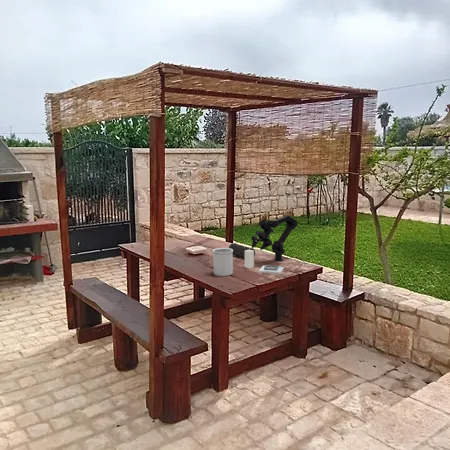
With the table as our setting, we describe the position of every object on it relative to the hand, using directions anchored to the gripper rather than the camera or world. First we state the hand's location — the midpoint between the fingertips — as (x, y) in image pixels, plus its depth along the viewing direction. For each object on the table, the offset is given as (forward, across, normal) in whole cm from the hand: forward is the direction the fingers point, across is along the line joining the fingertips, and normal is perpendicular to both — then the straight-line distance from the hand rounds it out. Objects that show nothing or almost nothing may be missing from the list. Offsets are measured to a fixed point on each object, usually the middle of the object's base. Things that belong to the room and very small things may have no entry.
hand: (256, 249), depth 332 cm
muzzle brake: (+2, -29, +17) cm, 34 cm away
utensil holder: (+34, 0, -15) cm, 37 cm away
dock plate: (+10, +18, +8) cm, 22 cm away
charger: (+14, 0, +4) cm, 15 cm away
